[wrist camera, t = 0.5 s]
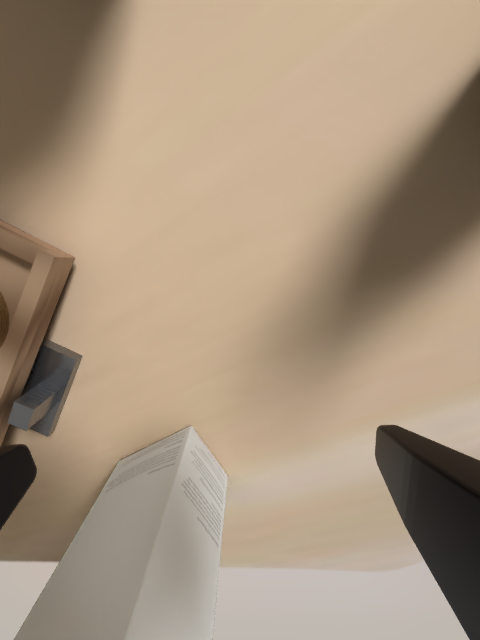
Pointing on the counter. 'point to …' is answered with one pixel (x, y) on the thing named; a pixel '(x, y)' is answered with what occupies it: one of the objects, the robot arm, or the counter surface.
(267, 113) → the counter surface
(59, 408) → the pivot stand
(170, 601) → the skincare box
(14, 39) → the counter surface
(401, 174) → the counter surface
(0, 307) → the cylinder
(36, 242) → the brown wooden tray
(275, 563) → the counter surface
